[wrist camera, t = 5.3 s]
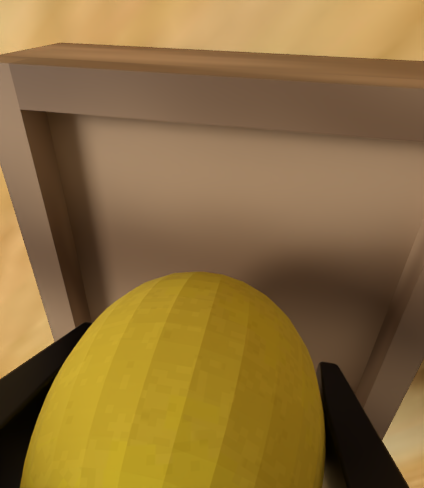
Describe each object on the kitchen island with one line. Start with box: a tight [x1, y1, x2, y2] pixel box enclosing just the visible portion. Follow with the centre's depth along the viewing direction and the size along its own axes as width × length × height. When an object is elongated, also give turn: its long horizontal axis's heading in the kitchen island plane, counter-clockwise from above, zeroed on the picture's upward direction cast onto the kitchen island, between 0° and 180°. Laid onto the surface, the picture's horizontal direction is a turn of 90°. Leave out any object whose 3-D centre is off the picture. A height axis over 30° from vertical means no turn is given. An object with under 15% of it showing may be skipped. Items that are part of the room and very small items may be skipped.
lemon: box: [20, 271, 326, 488], centre depth 8 cm, size 6×6×8 cm
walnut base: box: [0, 43, 424, 440], centre depth 13 cm, size 12×12×4 cm
